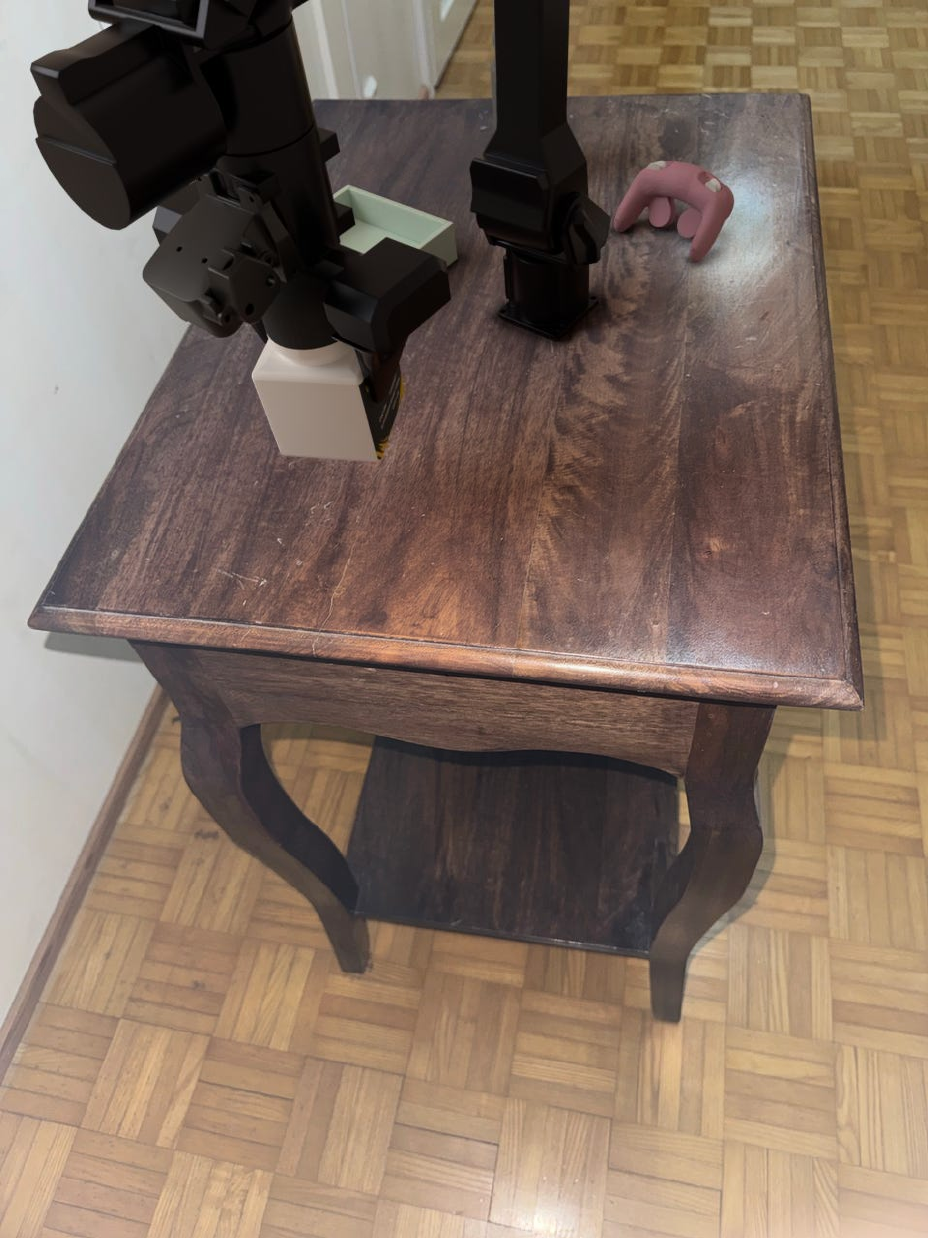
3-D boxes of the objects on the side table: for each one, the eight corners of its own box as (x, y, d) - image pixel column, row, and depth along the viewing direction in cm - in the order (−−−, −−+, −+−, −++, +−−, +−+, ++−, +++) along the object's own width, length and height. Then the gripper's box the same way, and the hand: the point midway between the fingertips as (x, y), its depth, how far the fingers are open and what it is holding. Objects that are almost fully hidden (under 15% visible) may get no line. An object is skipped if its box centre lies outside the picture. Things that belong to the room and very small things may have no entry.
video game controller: (719, 263, 82) (749, 181, 79) (696, 265, 79) (726, 179, 75) (631, 229, 87) (655, 149, 83) (605, 229, 84) (629, 146, 80)
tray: (457, 258, 84) (453, 222, 81) (362, 334, 79) (354, 299, 76) (355, 219, 90) (347, 183, 87) (259, 287, 84) (248, 252, 82)
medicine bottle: (381, 465, 60) (341, 311, 50) (280, 458, 61) (222, 307, 51) (407, 391, 63) (374, 235, 54) (311, 386, 65) (262, 232, 55)
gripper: (24, 155, 46) (141, 392, 59) (274, 263, 39) (348, 510, 51) (185, 63, 51) (262, 302, 64) (439, 143, 43) (470, 397, 56)
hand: (327, 373), depth 58 cm, fingers closed on medicine bottle, 9 cm apart
